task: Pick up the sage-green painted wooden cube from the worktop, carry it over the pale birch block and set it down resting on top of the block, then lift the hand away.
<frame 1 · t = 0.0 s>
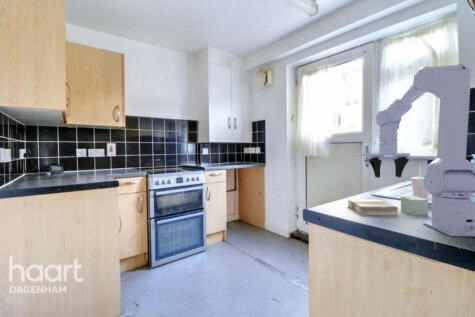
hand: (387, 177, 86), 10 cm above the worktop, tool pointing down, fingers open, 7 cm apart
birch block: (371, 211, 78), on the worktop
smoothie: (420, 203, 86), on the worktop
sage cube: (413, 213, 74), on the worktop
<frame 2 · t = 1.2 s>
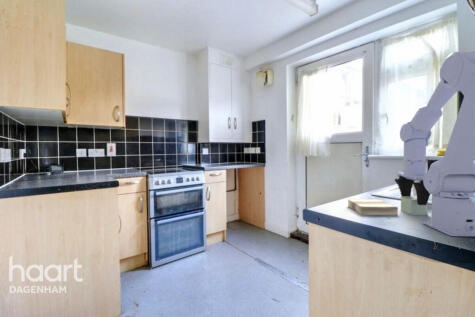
hand: (413, 201, 74), 4 cm above the worktop, tool pointing down, fingers open, 7 cm apart
nothing on the worktop moved.
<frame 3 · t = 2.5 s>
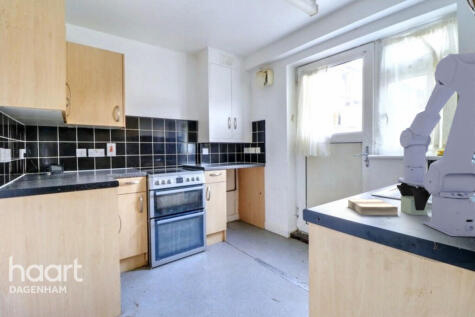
hand: (413, 207, 74), 2 cm above the worktop, tool pointing down, fingers closed on sage cube, 5 cm apart
sage cube: (413, 212, 74), on the worktop, touching gripper
everything else where it was.
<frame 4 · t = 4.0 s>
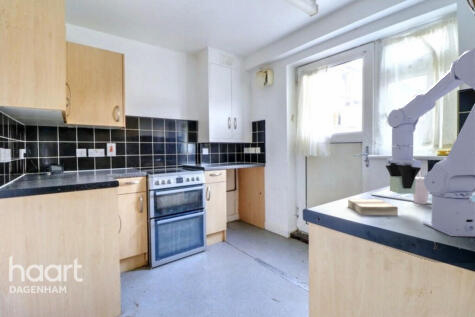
hand: (401, 186, 74), 8 cm above the worktop, tool pointing down, fingers closed on sage cube, 5 cm apart
sage cube: (402, 192, 75), point 7 cm above the worktop, touching gripper
everything else where it was.
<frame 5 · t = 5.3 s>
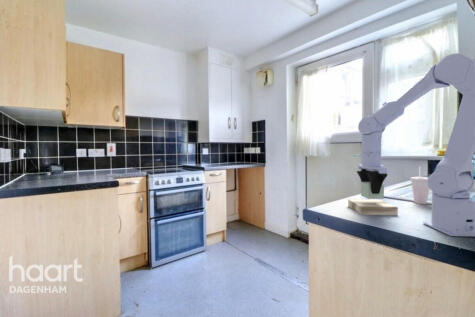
hand: (371, 192, 77), 6 cm above the worktop, tool pointing down, fingers closed on sage cube, 5 cm apart
sage cube: (372, 197, 78), point 5 cm above the worktop, touching gripper
everything else where it was.
when the fingers open (6 cm above the worktop, at t = 5.9 s): sage cube drops 1 cm, point 2 cm above the worktop.
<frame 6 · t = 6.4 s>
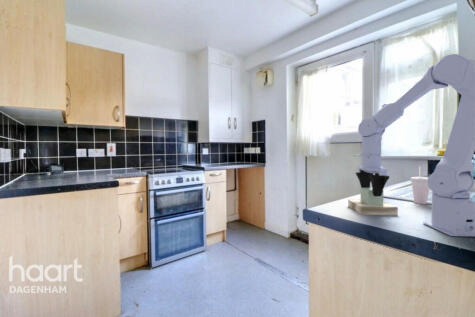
hand: (371, 193, 77), 6 cm above the worktop, tool pointing down, fingers open, 7 cm apart
sage cube: (371, 203, 78), point 2 cm above the worktop
everything else where it was.
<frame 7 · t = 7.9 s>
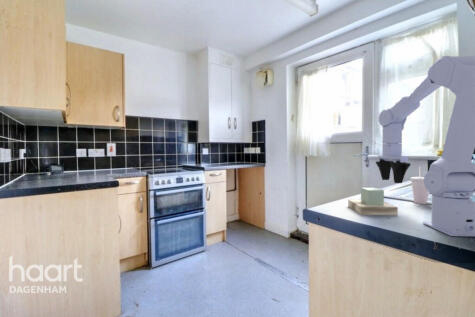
hand: (391, 181, 81), 9 cm above the worktop, tool pointing down, fingers open, 7 cm apart
nothing on the worktop moved.
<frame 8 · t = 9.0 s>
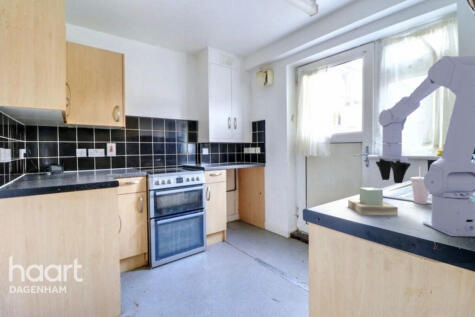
hand: (391, 181, 81), 9 cm above the worktop, tool pointing down, fingers open, 7 cm apart
birch block: (371, 211, 78), on the worktop, touching sage cube
sage cube: (370, 203, 78), point 2 cm above the worktop, touching birch block
everything else where it was.
at the end: sage cube 0.2 cm off-centre on the birch block, point 3.0 cm above the birch block's base; sage cube tilted 0°; sage cube touching birch block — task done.
